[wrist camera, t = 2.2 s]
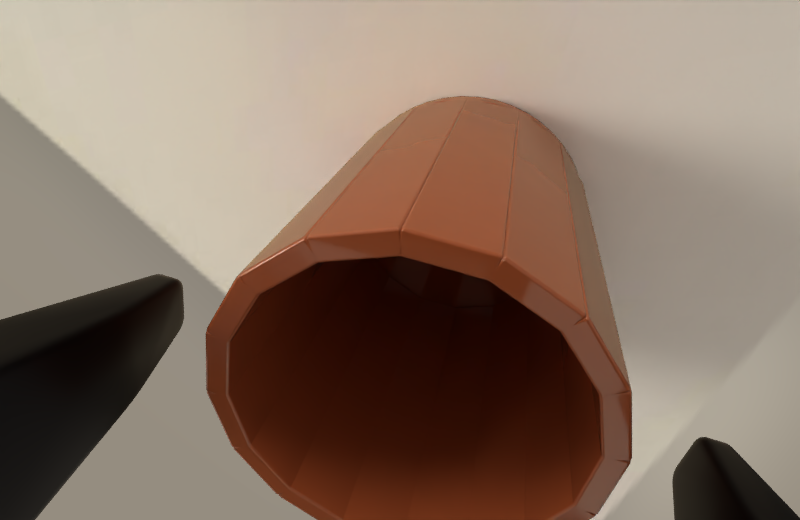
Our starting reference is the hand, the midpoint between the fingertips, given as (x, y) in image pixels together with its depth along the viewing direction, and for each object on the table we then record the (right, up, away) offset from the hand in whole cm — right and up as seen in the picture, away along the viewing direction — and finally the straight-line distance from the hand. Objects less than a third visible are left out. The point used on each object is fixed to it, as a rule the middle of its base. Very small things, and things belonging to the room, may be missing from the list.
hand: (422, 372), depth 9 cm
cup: (+1, +3, +6) cm, 7 cm away
